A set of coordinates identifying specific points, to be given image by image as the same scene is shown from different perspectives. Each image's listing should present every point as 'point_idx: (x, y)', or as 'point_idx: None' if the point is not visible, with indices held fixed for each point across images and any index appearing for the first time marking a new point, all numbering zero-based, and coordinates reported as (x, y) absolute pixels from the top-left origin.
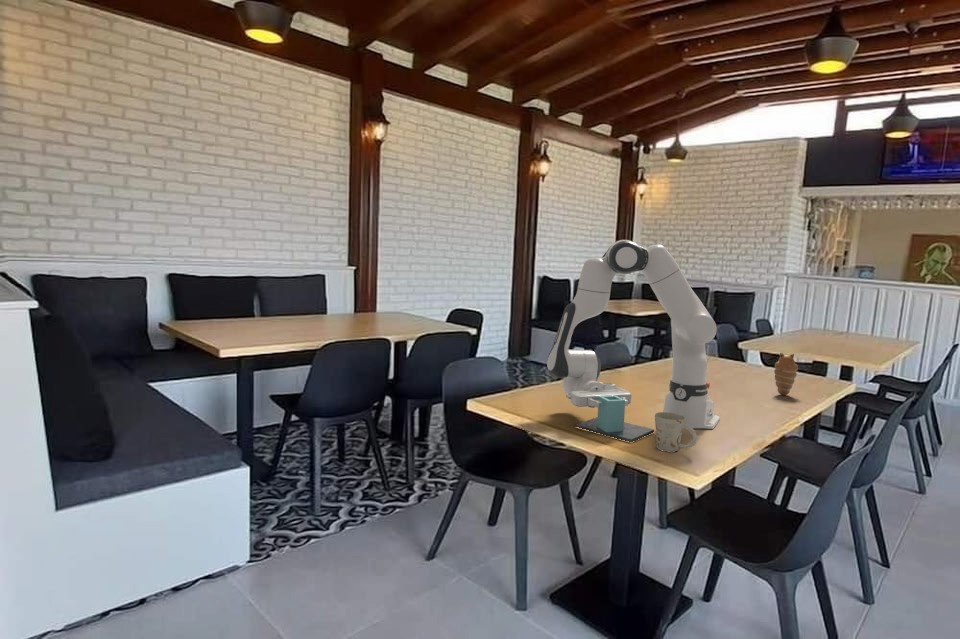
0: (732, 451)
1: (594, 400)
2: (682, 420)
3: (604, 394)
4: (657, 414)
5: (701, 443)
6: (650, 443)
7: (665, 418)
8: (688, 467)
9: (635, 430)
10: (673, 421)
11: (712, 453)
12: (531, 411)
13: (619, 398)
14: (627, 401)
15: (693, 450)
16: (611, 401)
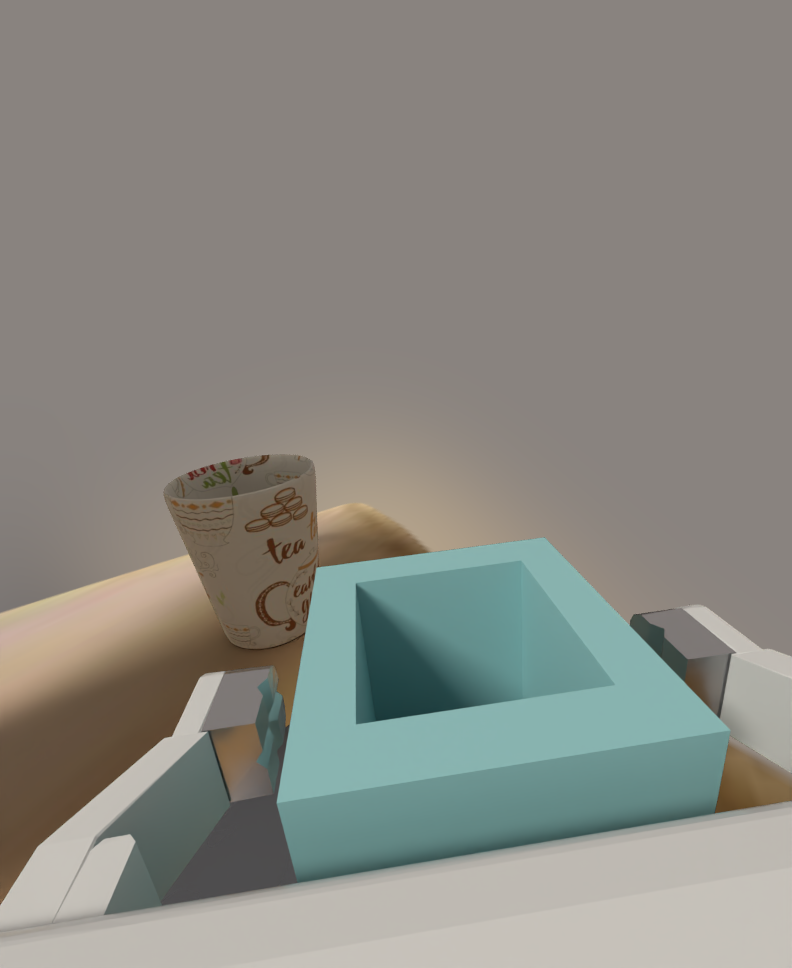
0: (50, 604)
1: (773, 657)
2: (234, 464)
3: (573, 902)
4: (262, 496)
5: (32, 674)
6: (293, 677)
7: (210, 529)
8: (337, 524)
9: (236, 850)
10: (280, 461)
11: (147, 590)
12: None
13: (344, 614)
14: (214, 676)
15: (181, 609)
16: (504, 550)
